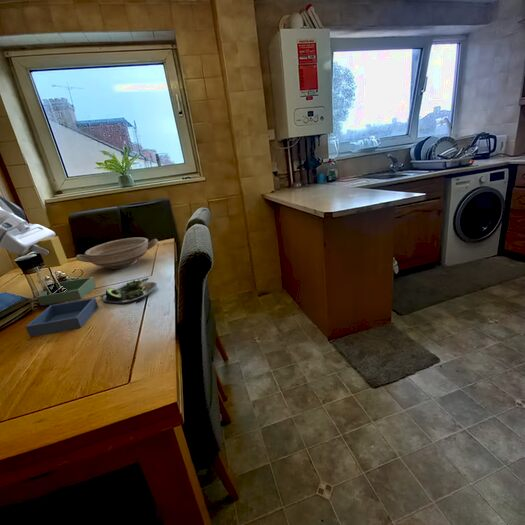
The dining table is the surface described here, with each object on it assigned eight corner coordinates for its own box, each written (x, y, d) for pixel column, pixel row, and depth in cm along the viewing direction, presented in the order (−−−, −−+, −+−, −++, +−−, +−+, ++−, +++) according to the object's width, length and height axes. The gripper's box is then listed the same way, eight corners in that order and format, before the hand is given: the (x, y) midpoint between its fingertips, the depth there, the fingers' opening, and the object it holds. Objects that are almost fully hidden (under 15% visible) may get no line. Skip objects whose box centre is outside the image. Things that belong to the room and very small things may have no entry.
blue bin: (31, 339, 81) (25, 326, 80) (55, 316, 94) (50, 305, 92) (82, 329, 83) (77, 317, 81) (99, 308, 95) (95, 297, 94)
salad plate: (133, 281, 116) (130, 271, 114) (168, 282, 110) (166, 272, 108) (94, 304, 99) (89, 293, 97) (133, 307, 93) (130, 295, 91)
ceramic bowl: (158, 249, 160) (154, 232, 156) (164, 262, 135) (159, 242, 132) (86, 265, 146) (79, 247, 143) (77, 283, 122) (69, 262, 118)
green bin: (41, 307, 102) (36, 297, 101) (59, 292, 114) (56, 282, 113) (81, 300, 104) (77, 290, 102) (96, 286, 116) (92, 276, 114)
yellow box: (46, 268, 100) (35, 241, 97) (53, 263, 105) (43, 238, 102) (61, 265, 101) (50, 239, 98) (67, 261, 106) (58, 236, 102)
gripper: (27, 229, 107) (63, 249, 111) (-13, 243, 88) (32, 266, 92) (35, 216, 106) (71, 237, 110) (-4, 227, 87) (41, 252, 91)
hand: (53, 250), depth 101 cm, fingers closed on yellow box, 5 cm apart
